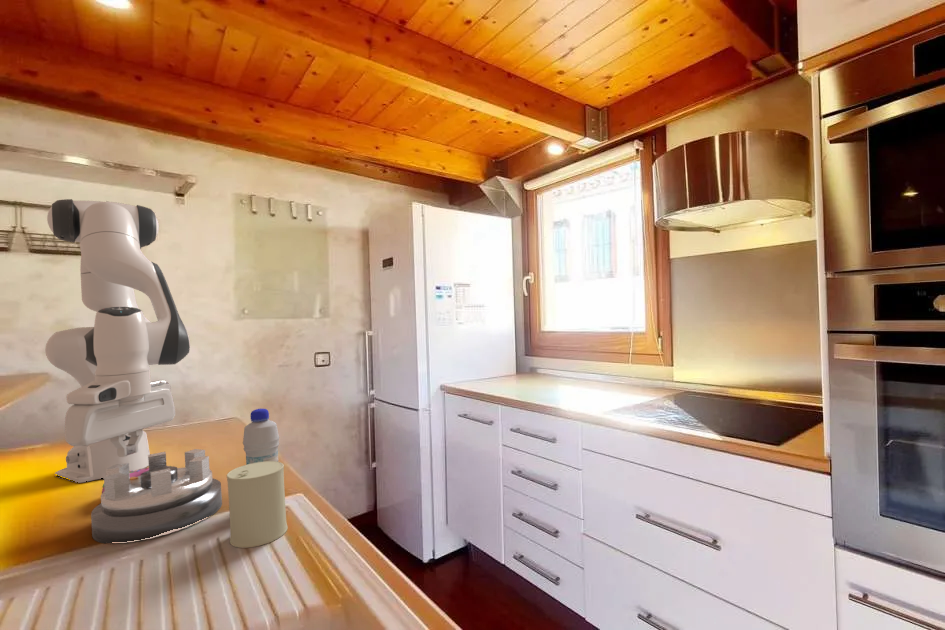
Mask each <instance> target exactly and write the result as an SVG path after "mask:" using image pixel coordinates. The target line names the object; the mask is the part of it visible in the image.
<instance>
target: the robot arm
mask: <svg viewBox="0 0 945 630" xmlns="http://www.w3.org/2000/svg"><path fill="white" fill-rule="evenodd" d="M46 219H47V220H46V221H47V225H48V227H49V229H50V231H51V232H52V234H53V236H54V237H55V238H57V239H58V240H61V241H64V242H68V243H72V244H73V243H79V249H80V255H81V257H80V266H79V267H80V269H79V270H80V288H81V292H80V293H81V300H82V303H83V305H84V306H85V307H86V308H87V309H89V310H91V311H93V312H96V313H95V318H94V325H93V326H89V327H88V326H87V327H85V326H84V327H75V328H69V329H65V330H59V331H56V332H54V333H53V334H52V335H51V336H50V337H49V338H48V340H47V342H46V344H45V352H44V353H45V356H46V358H47V360H48V361H49V364H52V365H53V366H54V367H55V368H57V369H58V370H62V371H63V372H66V373H67V374H68V375H70V376H71V377H72V378H73V379H74V380H76V381H77V383H78V384H79V386H80V387H79V388H77V389H75V390H72V391H70V392H69V393H68V394H67V395H66V402H67V404H68V405H70V407H69V408H68V409H67V410H66V413H65V418H64V419H65V420H64V438H65V439H64V440H65V442H66V443H67V444H68V445H69V446H71V448H70V450H68V452H67V455H65V456H66V457H65V461H66V467H65V468H63V469H62V468H61V469H60V470H58V471H55V472H54V475H55V474H57V475H59V476H62V477H65V478H68V479H70V480H73V481H75V482H74V483H77V482H78V484H79V483H80V484H81V483H87V482H92V481H95V480H102V479H101V478H103V479H104V477H106V469H107V468H109V467H111V466H113V465H115V464H125V463H129V471H135V470H138V469H143V468H147V467H149V462H148V455H150V454H151V453H150V448H149V447H150V445H149V441H148V437H147V436H148V435H147V432H146V431H144V429H147V428H150V427H154V426H156V425H161V424H164V423H167V422H170V421H171V422H172V421H173V420H174V418H175V416H176V405H175V403H174V397H173V393H172V389H171V388H172V387H171V384H170V383H169V382H168V381H165V380H164V379H159V380H156V381H152V380H151V379H152V377H151V367H150V366H153V365H158V366H159V365H161V366H162V365H165V366H166V365H176V364H178V363H180V362H181V361H183V360H184V358H186V357H187V356H188V354H189V353H190V348H191V339H190V336H189V332H188V331H187V328H186V326H185V325H184V322H183V320H182V319H181V316H180V314H179V312H178V309H177V305H176V303H175V301H174V298H173V295H172V293H171V290H170V288H169V285H168V282H167V280H166V278H165V275H164V273H163V271H162V269H161V268H160V266H159V265H158V264H157V263H155V262H153V261H151V260H150V259H148V258H147V256H145V254H144V252H142V248H143V247H147V246H149V245H151V244H152V243H154V242H155V241H156V238H157V236H158V235H159V233H160V232H159V230H160V224H159V221H158V220H159V219H158V218H157V216H156V213H155V212H154V211H153V209H152V208H150V207H146V206H143V205H139V204H137V205H132V204H129V203H128V204H127V203H122V202H116V201H107V200H106V201H101V200H73V199H72V198H71V199H70V198H68V199H67V198H65V199H58V200H56V201H54V202H53V203H51V207H49V209H48V212H47V216H46ZM135 290H136V291H138V292H142V293H143V294H145V296H147V297H148V299H149V300H150V303H151V306H152V308H153V311H154V314H155V316H156V320H157V321H150V320H149V319H148V318H147V317H146V316H145V314H144V311H143V310H142V309H140V307H139V305H138V302H137V299H136V294H135ZM70 480H69V481H70ZM73 481H72V482H73ZM86 481H87V482H86Z"/></svg>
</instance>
